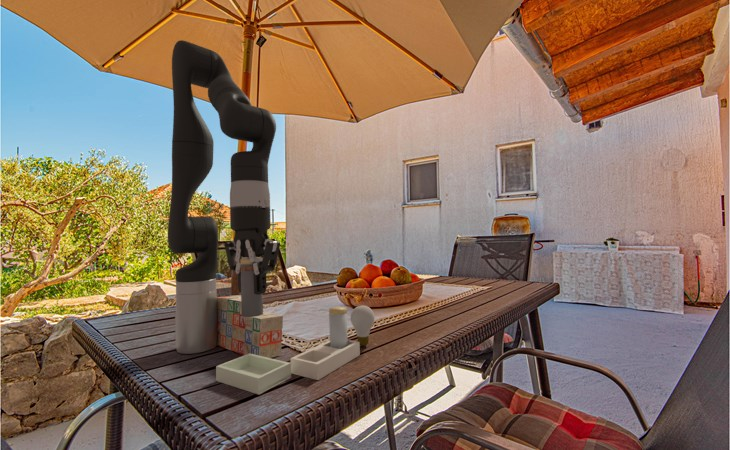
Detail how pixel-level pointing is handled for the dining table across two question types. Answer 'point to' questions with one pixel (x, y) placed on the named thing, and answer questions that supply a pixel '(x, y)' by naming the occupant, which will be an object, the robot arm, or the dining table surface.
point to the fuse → (338, 327)
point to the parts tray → (253, 373)
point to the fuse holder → (323, 359)
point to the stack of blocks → (247, 329)
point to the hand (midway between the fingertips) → (252, 292)
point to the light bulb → (362, 323)
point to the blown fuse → (249, 291)
